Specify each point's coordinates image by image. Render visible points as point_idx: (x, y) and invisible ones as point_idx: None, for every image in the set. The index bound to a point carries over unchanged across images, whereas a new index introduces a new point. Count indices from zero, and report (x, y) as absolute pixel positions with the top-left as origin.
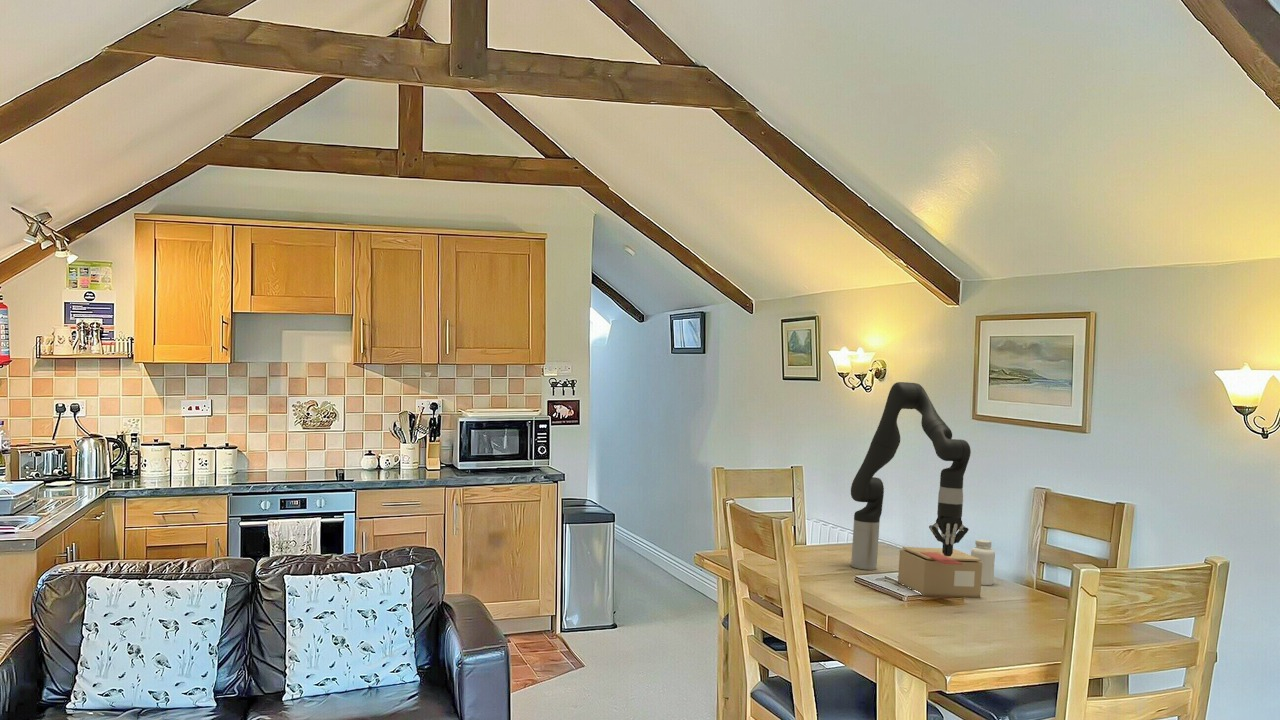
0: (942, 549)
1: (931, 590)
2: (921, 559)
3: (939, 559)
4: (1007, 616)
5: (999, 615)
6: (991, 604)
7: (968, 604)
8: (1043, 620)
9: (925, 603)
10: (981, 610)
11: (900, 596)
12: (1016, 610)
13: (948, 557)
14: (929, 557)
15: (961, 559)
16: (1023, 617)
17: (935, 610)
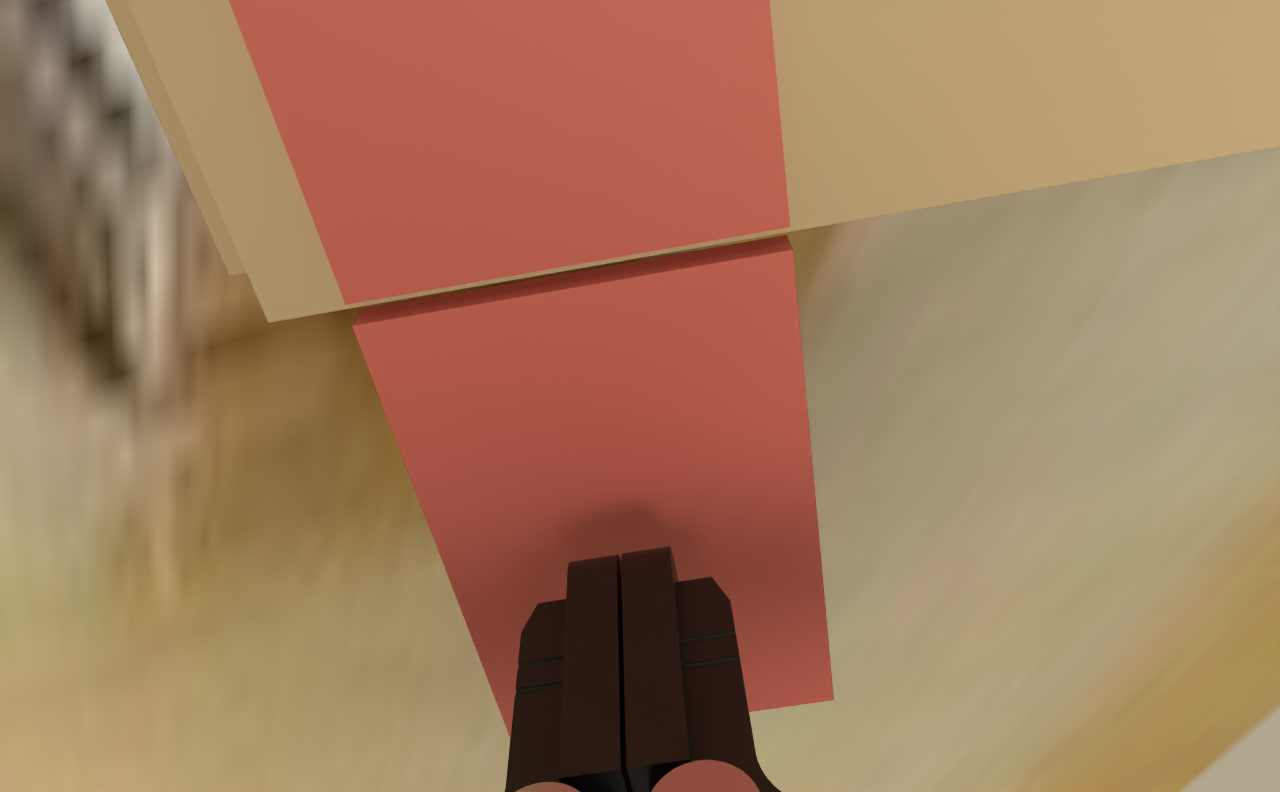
0: (517, 679)
1: None
2: (156, 101)
3: (477, 541)
4: (982, 655)
5: (928, 645)
6: (1112, 281)
7: (827, 355)
8: (1222, 685)
9: (361, 440)
10: (849, 541)
11: (95, 199)
12: (1225, 454)
13: (828, 117)
14: (305, 303)
15: (1119, 167)
16: (1109, 650)
17: (413, 641)
